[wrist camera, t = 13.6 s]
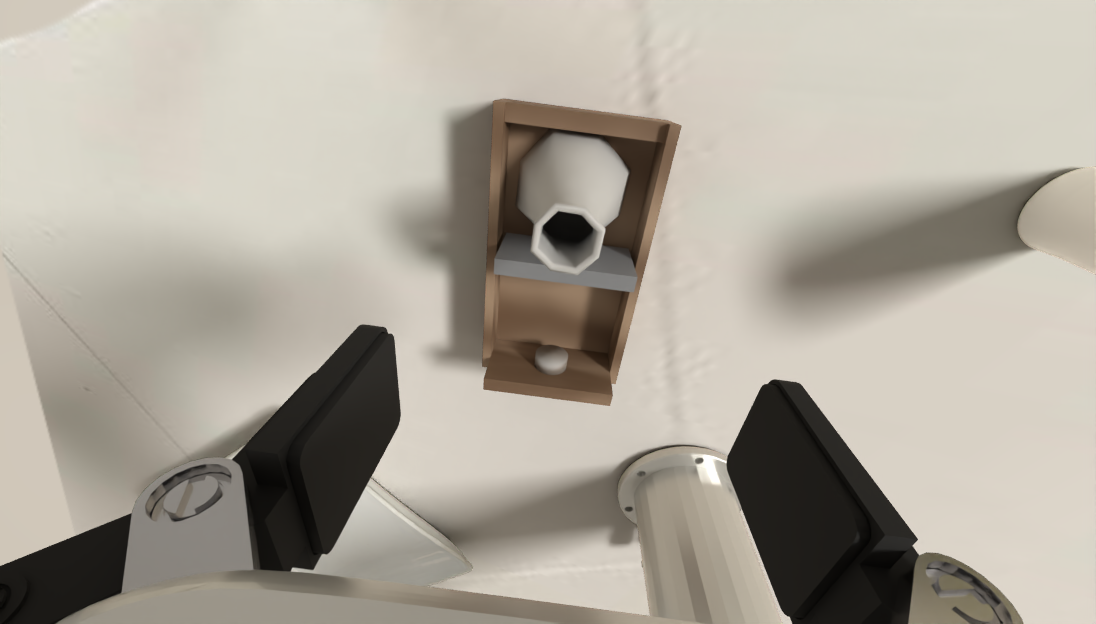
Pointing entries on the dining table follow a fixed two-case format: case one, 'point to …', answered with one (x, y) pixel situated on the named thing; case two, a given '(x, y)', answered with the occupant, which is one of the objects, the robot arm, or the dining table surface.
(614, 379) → the wooden tray
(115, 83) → the dining table surface
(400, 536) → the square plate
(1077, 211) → the drinking glass
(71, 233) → the dining table surface
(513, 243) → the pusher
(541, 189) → the flask
